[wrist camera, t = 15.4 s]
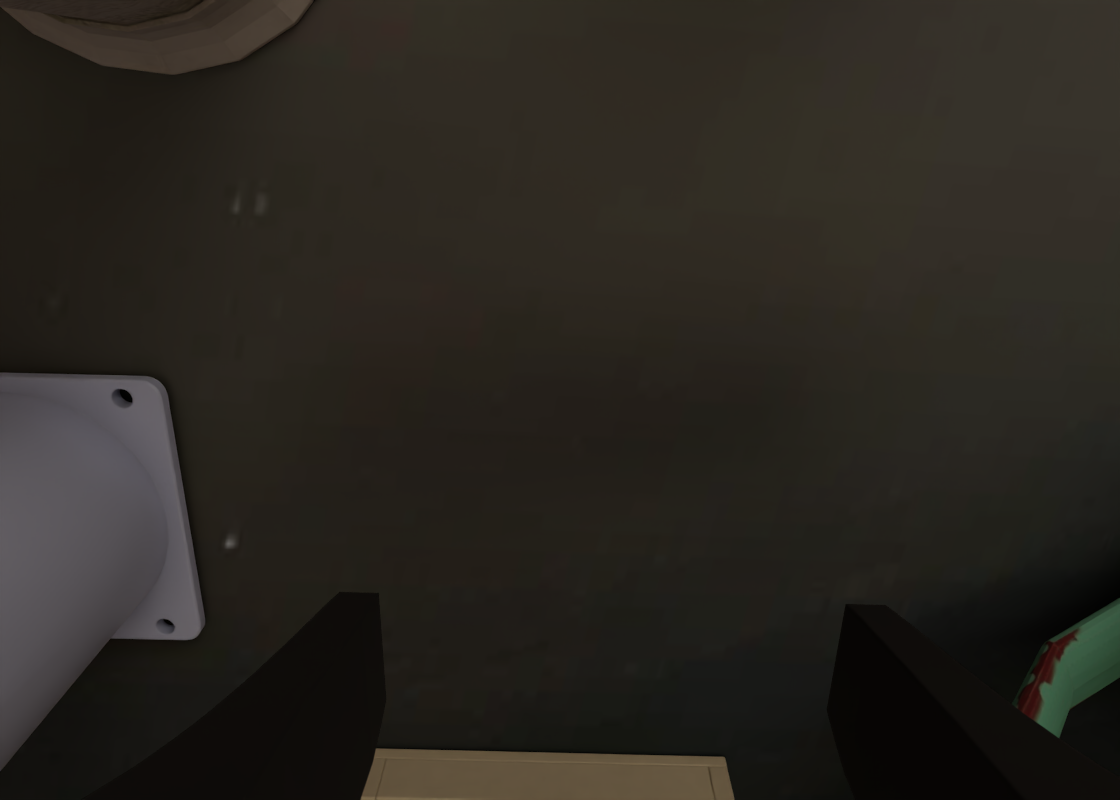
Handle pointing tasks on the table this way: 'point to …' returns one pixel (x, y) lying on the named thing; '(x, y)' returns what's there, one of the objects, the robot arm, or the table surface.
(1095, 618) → the mug
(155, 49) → the mug
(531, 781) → the tray
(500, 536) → the table surface
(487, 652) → the table surface
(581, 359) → the table surface
